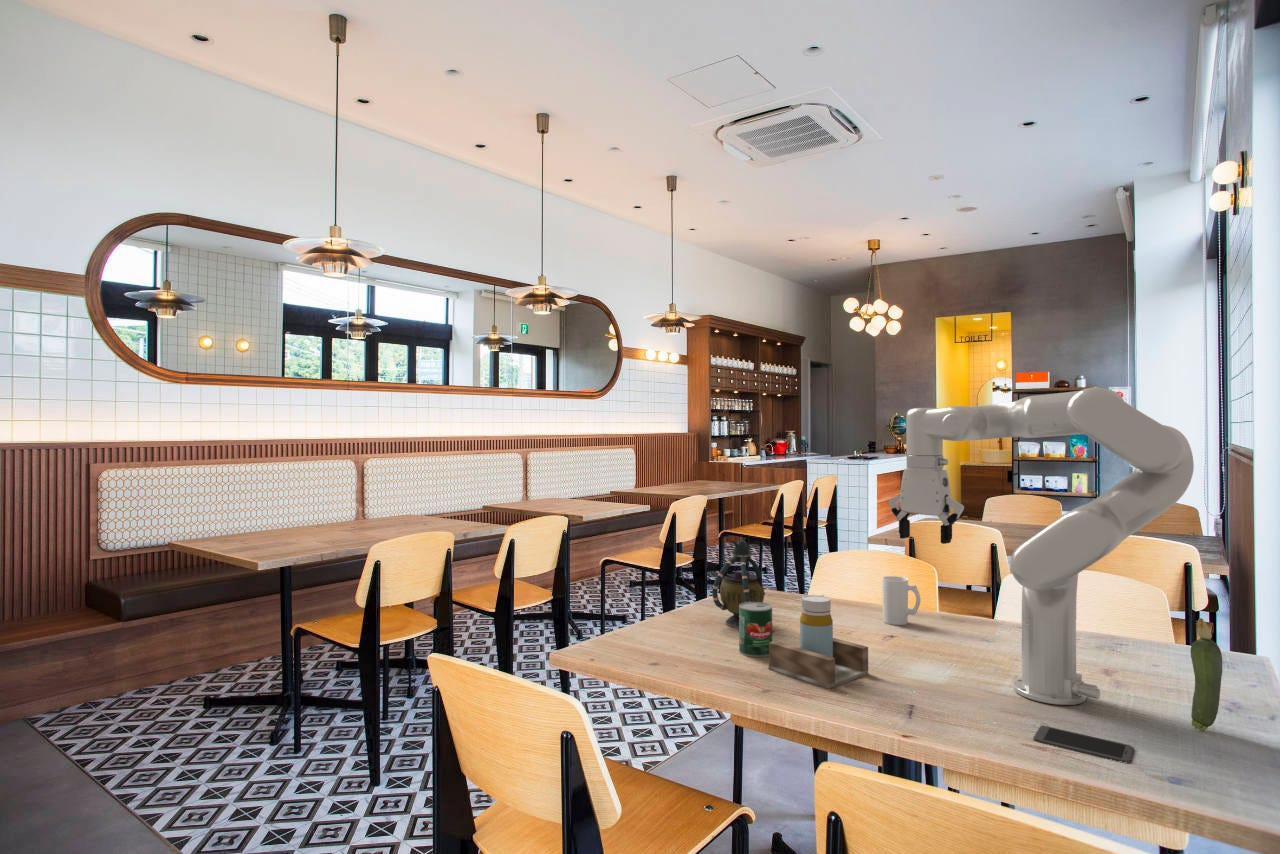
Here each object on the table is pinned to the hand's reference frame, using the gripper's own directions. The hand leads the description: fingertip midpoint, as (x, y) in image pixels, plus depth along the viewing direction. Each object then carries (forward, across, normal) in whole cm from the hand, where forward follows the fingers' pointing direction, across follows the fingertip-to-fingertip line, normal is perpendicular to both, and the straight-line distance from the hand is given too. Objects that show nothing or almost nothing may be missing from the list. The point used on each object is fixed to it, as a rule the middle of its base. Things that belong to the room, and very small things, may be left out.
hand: (924, 540), depth 160 cm
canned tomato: (+28, +32, +20) cm, 47 cm away
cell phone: (+29, -37, +16) cm, 50 cm away
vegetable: (+28, -49, -6) cm, 57 cm away
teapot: (+28, +52, +1) cm, 59 cm away
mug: (+28, +23, -29) cm, 47 cm away
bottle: (+28, +15, +20) cm, 37 cm away
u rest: (+28, +14, +20) cm, 37 cm away
